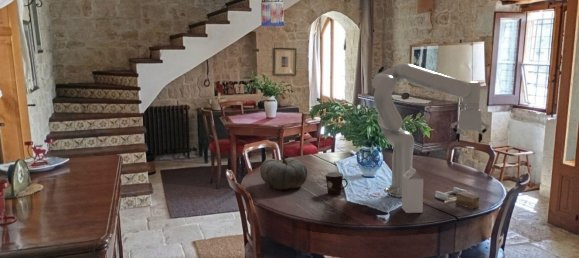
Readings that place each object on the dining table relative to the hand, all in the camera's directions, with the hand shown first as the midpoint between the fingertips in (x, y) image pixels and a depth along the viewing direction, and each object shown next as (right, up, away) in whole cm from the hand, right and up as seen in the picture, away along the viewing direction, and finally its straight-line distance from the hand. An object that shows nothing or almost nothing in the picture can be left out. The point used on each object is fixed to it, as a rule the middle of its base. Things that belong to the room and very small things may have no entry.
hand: (468, 141), depth 214 cm
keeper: (-11, -26, -5) cm, 29 cm away
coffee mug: (-65, -26, +2) cm, 70 cm away
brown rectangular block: (-8, -28, -17) cm, 34 cm away
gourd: (-90, -24, +18) cm, 95 cm away
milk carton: (-34, -30, -22) cm, 50 cm away
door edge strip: (-9, -27, -10) cm, 30 cm away
